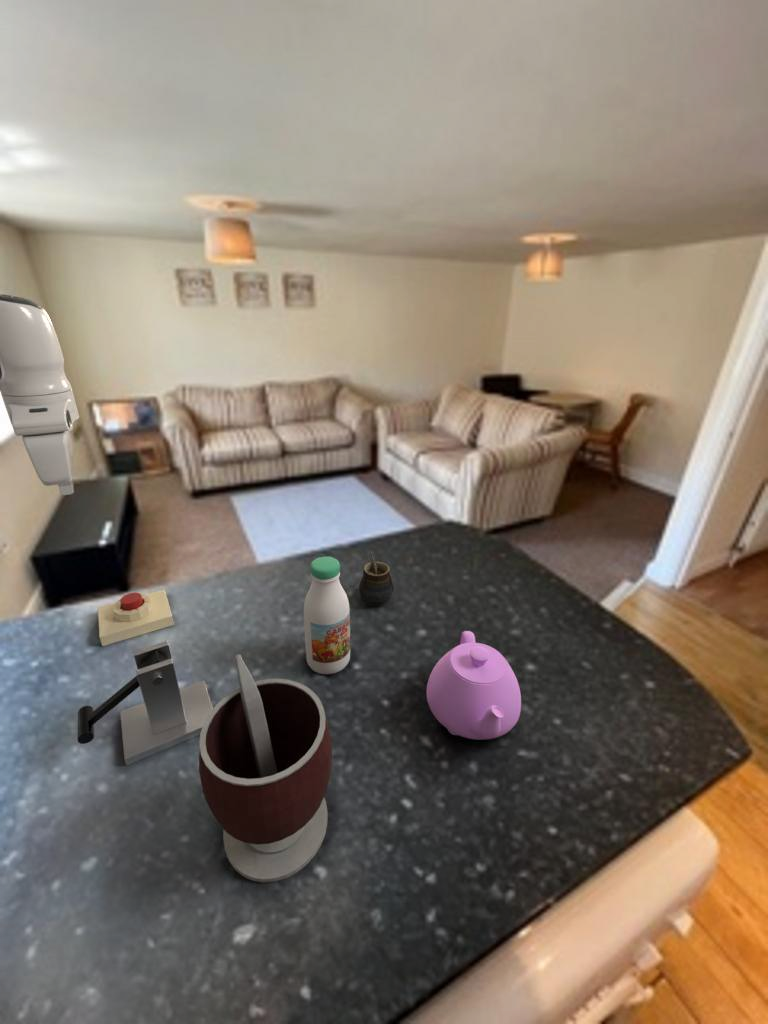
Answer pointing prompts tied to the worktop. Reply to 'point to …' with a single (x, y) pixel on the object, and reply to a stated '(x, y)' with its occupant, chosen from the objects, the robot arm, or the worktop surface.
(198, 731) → the bracket
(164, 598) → the button box
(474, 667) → the teapot
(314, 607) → the milk bottle
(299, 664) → the worktop surface
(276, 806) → the mate gourd
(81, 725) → the lever
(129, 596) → the button
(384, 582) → the mate gourd
